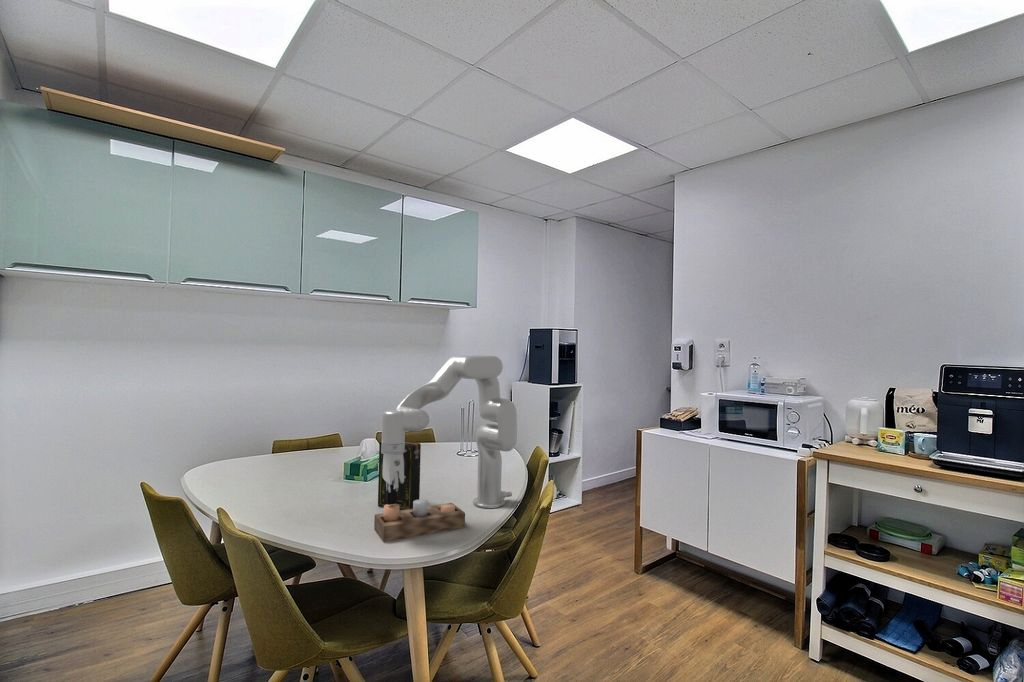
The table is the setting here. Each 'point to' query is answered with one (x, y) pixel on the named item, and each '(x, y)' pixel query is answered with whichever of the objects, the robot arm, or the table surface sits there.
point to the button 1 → (391, 513)
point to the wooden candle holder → (419, 523)
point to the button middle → (420, 508)
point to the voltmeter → (411, 478)
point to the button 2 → (447, 508)
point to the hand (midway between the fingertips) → (391, 503)
